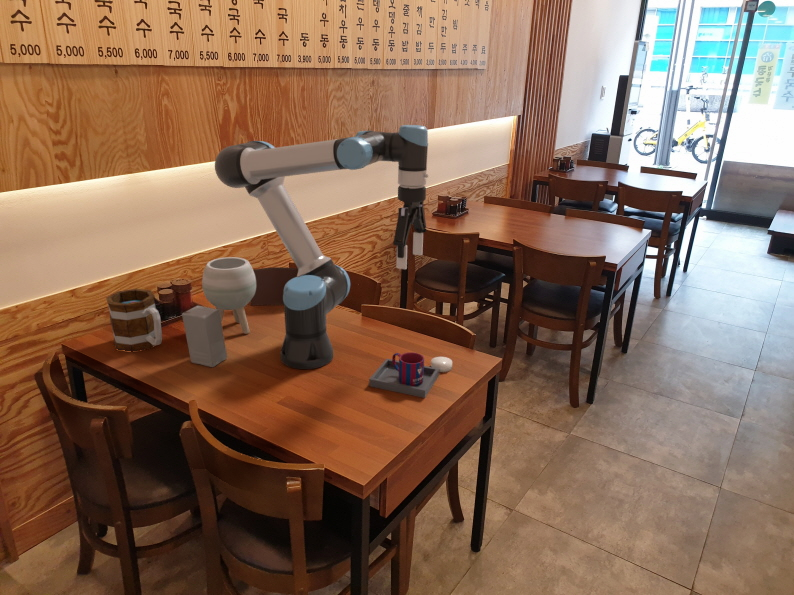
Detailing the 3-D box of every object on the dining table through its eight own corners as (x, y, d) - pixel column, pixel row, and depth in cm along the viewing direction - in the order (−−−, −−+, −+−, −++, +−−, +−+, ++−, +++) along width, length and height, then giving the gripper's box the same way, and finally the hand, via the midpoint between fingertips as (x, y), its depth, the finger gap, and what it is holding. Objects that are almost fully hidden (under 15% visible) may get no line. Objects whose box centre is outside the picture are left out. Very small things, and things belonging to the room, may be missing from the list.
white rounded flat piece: (428, 370, 164) (428, 364, 164) (434, 361, 170) (434, 355, 169) (448, 374, 162) (449, 368, 162) (454, 365, 168) (454, 358, 167)
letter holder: (307, 305, 207) (305, 267, 202) (250, 306, 205) (247, 268, 200) (308, 295, 216) (307, 259, 211) (254, 296, 214) (251, 259, 209)
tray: (369, 386, 155) (369, 379, 154) (386, 365, 166) (386, 358, 165) (424, 398, 150) (425, 390, 149) (438, 375, 161) (439, 368, 160)
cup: (409, 389, 153) (410, 366, 150) (385, 374, 160) (386, 352, 157) (428, 381, 157) (429, 358, 154) (404, 367, 164) (404, 345, 161)
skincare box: (227, 359, 168) (222, 308, 162) (210, 369, 162) (204, 317, 156) (205, 353, 171) (199, 303, 165) (187, 363, 165) (180, 311, 159)
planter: (242, 315, 197) (236, 252, 189) (269, 329, 187) (264, 263, 179) (198, 328, 186) (190, 262, 178) (224, 345, 176) (217, 275, 168)
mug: (104, 344, 175) (95, 298, 170) (145, 329, 185) (138, 285, 180) (141, 363, 165) (134, 314, 159) (183, 346, 175) (177, 300, 169)
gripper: (409, 195, 143) (407, 276, 151) (438, 179, 165) (435, 250, 173) (381, 192, 146) (380, 272, 153) (413, 177, 167) (411, 247, 175)
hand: (409, 261), depth 163 cm, fingers open, 13 cm apart
